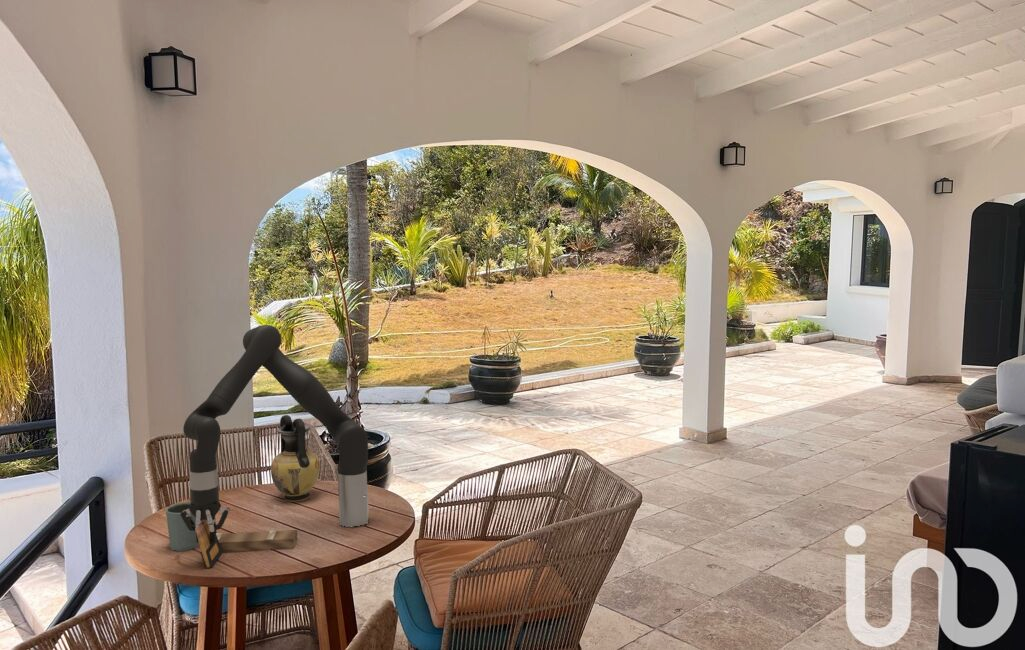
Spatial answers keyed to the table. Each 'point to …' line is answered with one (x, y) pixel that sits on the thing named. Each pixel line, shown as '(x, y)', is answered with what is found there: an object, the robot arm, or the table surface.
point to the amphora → (294, 462)
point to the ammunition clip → (207, 545)
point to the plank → (257, 540)
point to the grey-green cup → (180, 528)
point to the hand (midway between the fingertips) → (206, 543)
